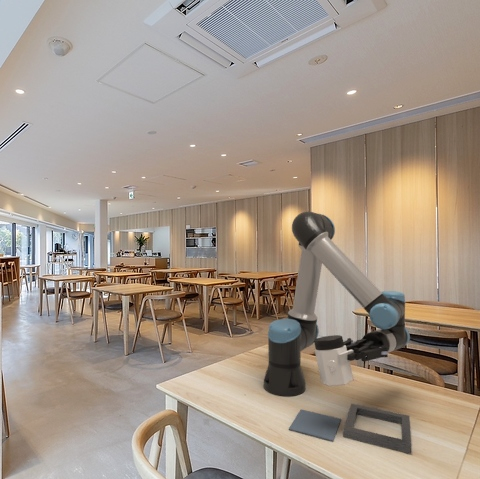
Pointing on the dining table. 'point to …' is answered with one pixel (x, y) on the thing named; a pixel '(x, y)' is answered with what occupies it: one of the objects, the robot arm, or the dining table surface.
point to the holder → (375, 438)
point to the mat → (315, 425)
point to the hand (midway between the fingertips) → (335, 358)
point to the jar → (332, 361)
